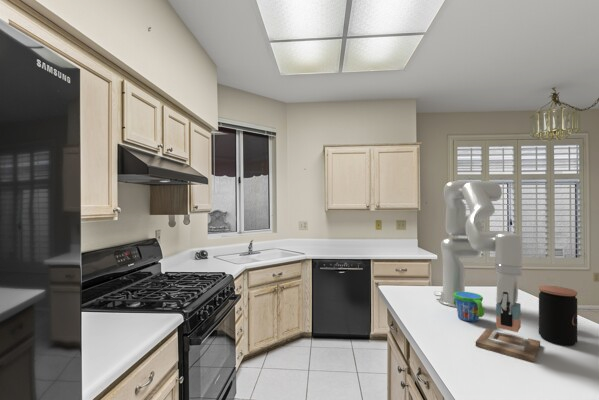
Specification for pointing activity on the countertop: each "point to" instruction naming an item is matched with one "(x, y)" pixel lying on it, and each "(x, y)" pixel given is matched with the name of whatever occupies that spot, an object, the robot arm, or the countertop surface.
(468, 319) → the snack cup
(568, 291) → the coffee jar
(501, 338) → the walnut board
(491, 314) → the countertop surface
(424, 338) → the countertop surface
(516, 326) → the teal and orange block
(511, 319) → the robot arm
